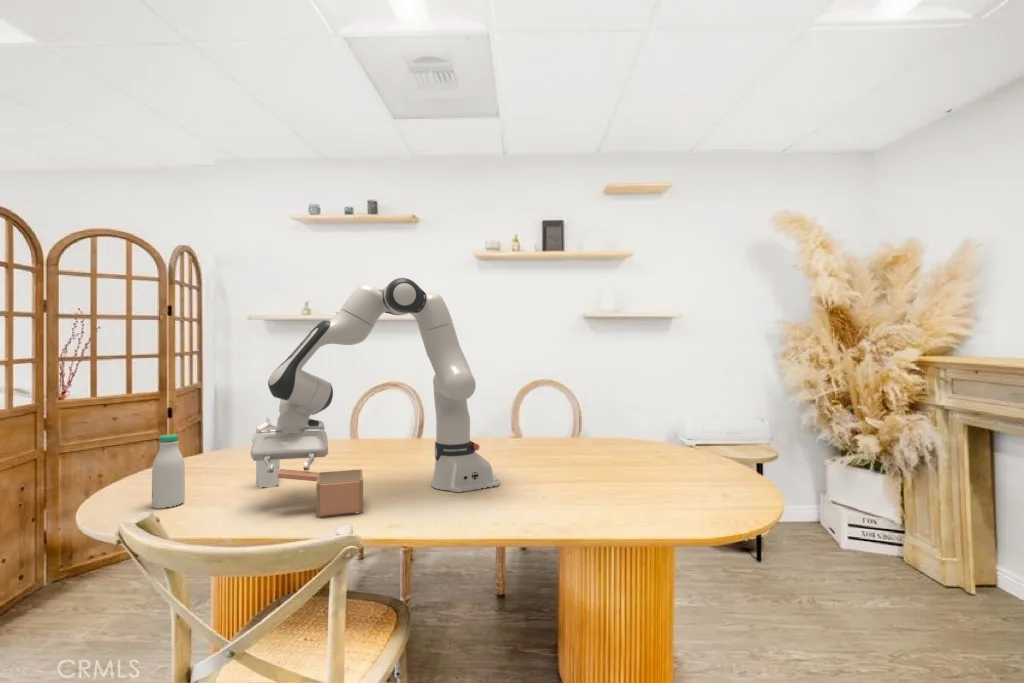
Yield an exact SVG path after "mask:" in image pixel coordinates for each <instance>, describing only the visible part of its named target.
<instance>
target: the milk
mask: <svg viewBox="0 0 1024 683" xmlns="http://www.w3.org/2000/svg"><path fill="white" fill-rule="evenodd" d="M276 429H277V425H275V424H273V423H271V419H270V418H269V417H267V416H266V417H265V422H263V423H261V424H259V425H258V426H256V429H255V430H256V431H255V433H257V432H259V431H261V430H264V431H266V430H276ZM255 462H256V463H255V470H256V471H255V477H256V479H255V485H256V484H257V485H258V486H257V485H256V486H257V488H259V489H260V488H261V489H263V488H262V487H267V488H270V487H269V486H273V487H277V486H276V485H279V486H280V479H281V478H278V473H279V471H280V469H281V468H280V467H281V466H280V462H281V461H280V460H271V462H270V464H274V472H273V473H267V466H266V464H265V461H255Z"/></svg>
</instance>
